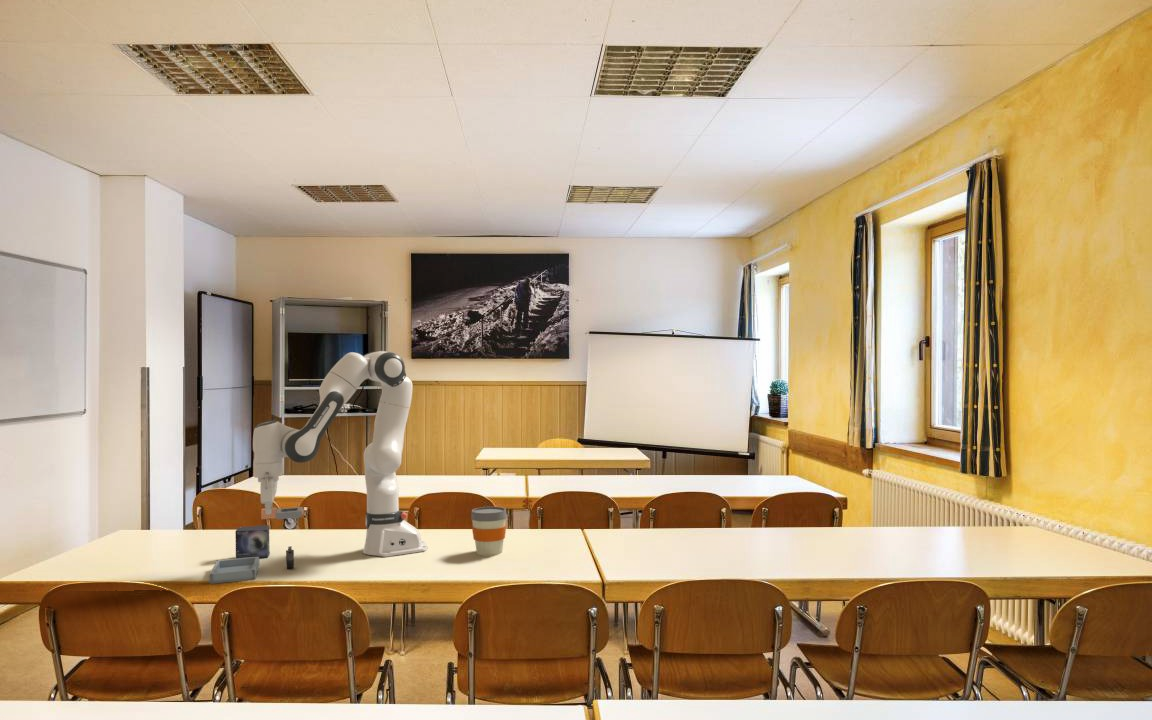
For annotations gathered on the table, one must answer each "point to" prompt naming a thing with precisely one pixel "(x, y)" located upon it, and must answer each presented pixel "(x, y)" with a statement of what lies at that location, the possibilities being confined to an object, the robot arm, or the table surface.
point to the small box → (252, 542)
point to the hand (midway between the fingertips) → (269, 512)
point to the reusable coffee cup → (489, 529)
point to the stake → (289, 558)
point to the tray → (234, 570)
